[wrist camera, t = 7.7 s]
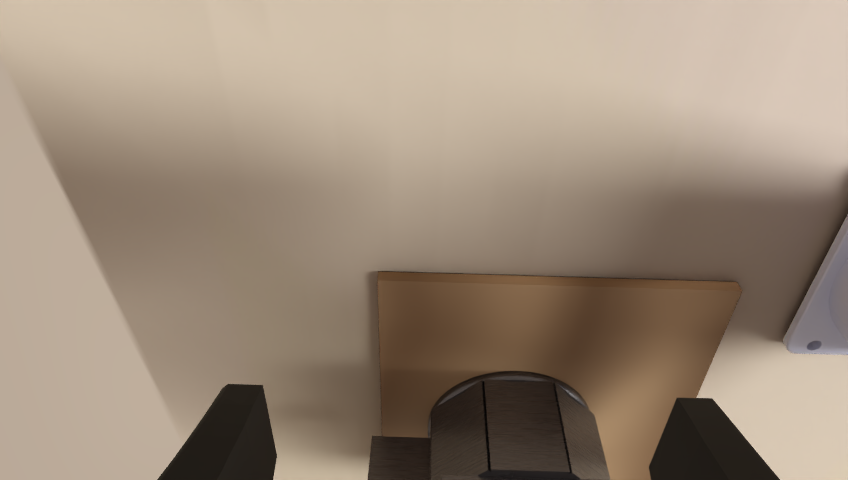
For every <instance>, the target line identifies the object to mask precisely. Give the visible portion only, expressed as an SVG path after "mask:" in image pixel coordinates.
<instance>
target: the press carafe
mask: <svg viewBox="0 0 848 480" xmlns="http://www.w3.org/2000/svg"><path fill="white" fill-rule="evenodd" d="M368 480H610V476H609V472H608V468H607V463H606V459H605V455H604V451H603V447H602V443H601V439H600V435H599V431H598V427H597V423H596V419H595V416H594V414H593V413H592V412H591V411H590V410H589V408H588V405H587V403H586V401H585V400H584V399H583V397H582V396H581V395H580V394H579V393H578V392H577V391H576V390H575V389H574V388H572V387H571V386H569V385H568V384H566V383H564V382H562V381H561V380H558V379H556V378H553V377H551V376H547V375H544V374H540V373H534V372H527V371H501V372H493V373H488V374H483V375H479V376H476V377H473V378H470V379H468V380H465V381H463V382H461V383H459V384H457V385H455V386H454V387H452V388H451V389H449V390H448V391H446V392H445V393H444V394H443V395H442V396H441V397H440V398H439V399H438V400H437V402H436V403H435V404H434V406H433V408H432V409H431V412H430V415H429V419H428V438H419V437H386V436H372V443H371V453H370V463H369V472H368Z"/></svg>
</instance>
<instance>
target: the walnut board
mask: <svg viewBox="0 0 848 480" xmlns="http://www.w3.org/2000/svg"><path fill="white" fill-rule="evenodd" d="M377 283H378V316H379V349H380V382H381V415H382V436H386V437H419V438H428V419H429V415H430V412H431V409H432V408H433V406H434V404H435V403H436V402H437V400H438V399H439V398H440V397H441V396H442V395H443V394H444V393H445V392H446V391H448V390H449V389H451V388H452V387H454V386H455V385H457V384H459V383H461V382H463V381H465V380H468V379H470V378H473V377H476V376H479V375H483V374H488V373H493V372H501V371H527V372H534V373H540V374H544V375H547V376H551V377H553V378H556V379H558V380H561V381H562V382H564V383H566V384H568V385H569V386H571V387H572V388H574V389H575V390H576V391H577V392H578V393H579V394H580V395H581V396H582V397H583V399H584V400H585V401H586V403H587V405H588V408H589V410H590V411H591V412H592V413H593V414H594V416H595V419H596V423H597V427H598V431H599V435H600V439H601V443H602V447H603V451H604V455H605V459H606V463H607V468H608V472H609V476H610V480H651V477H650V471H649V465H650V463H651V460H652V458H653V455H654V453H655V450H656V448H657V445H658V443H659V440H660V438H661V435H662V433H663V431H664V428H665V426H666V423H667V421H668V418H669V416H670V413H671V411H672V408H673V406H674V403H675V401H676V398H696V397H697V395H698V392H699V390H700V388H701V385H702V383H703V381H704V378H705V376H706V374H707V371H708V369H709V367H710V365H711V362H712V360H713V358H714V355H715V353H716V351H717V348H718V346H719V344H720V341H721V339H722V337H723V335H724V332H725V330H726V328H727V325H728V323H729V321H730V318H731V316H732V314H733V311H734V309H735V307H736V305H737V302H738V300H739V298H740V295H741V293H742V290H741V288H740V286H739V285H738V283H737V282H717V281H683V280H649V279H615V278H581V277H546V276H512V275H478V274H444V273H410V272H378V280H377Z"/></svg>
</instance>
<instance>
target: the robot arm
mask: <svg viewBox="0 0 848 480" xmlns="http://www.w3.org/2000/svg"><path fill="white" fill-rule="evenodd" d="M783 343H784V345H785V347H786V349H787V350H788V351H789V352H791V353H799V354H833V355H848V215H847V217H846V218H845V220H844V222H843V224H842V226H841V228H840V230H839V232H838V234H837V236H836V238H835V240H834V242H833V244H832V246H831V247H830V249H829V251H828V253H827V255H826V257H825V259H824V261H823V263H822V265H821V267H820V269H819V271H818V273H817V275H816V276H815V278H814V280H813V282H812V284H811V286H810V288H809V290H808V292H807V294H806V296H805V298H804V300H803V302H802V304H801V305H800V307H799V309H798V311H797V313H796V315H795V317H794V319H793V321H792V323H791V325H790V327H789V329H788V331H787V333H786V335H785V336H784V339H783ZM276 458H277V454H276V449H275V444H274V439H273V434H272V429H271V424H270V419H269V414H268V409H267V404H266V399H265V394H264V389H263V385H240V384H227V385H226V386H225V387H224V388H222V390H221V391H220V393H219V394H218V396H217V397H216V399H215V400H214V402H213V403H212V405H211V406H210V408H209V409H208V411H207V412H206V414H205V415H204V417H203V418H202V420H201V421H200V423H199V424H198V425H197V427H196V428H195V430H194V431H193V432H192V434H191V435H190V437H189V438H188V439H187V441H186V442H185V444H184V445H183V446H182V448H181V449H180V451H179V452H178V453H177V455H176V456H175V458H174V459H173V460H172V461H171V463H170V464H169V465H168V467H167V468H166V469H165V471H164V472H163V473H162V474H161V476H160V477H159V478H158V480H273V476H274V470H275V464H276ZM649 471H650V477H651V480H780V479H779V478H778V477H777V476H776V474H775V473H774V472H773V471H772V470H771V469H770V467H769V466H768V465H767V464H766V463H765V461H764V460H763V459H762V458H761V457H760V455H759V454H758V453H757V452H756V451H755V449H754V448H753V447H752V446H751V445H750V443H749V442H748V441H747V440H746V439H745V437H744V436H743V435H742V434H741V432H740V431H739V430H738V429H737V428H736V426H735V425H734V424H733V423H732V422H731V420H730V419H729V418H728V417H727V416H726V414H725V413H724V412H723V411H722V410H721V408H720V407H719V406H718V405H717V404H716V402H715V401H714V400H713V399H709V398H676V401H675V403H674V406H673V408H672V411H671V413H670V416H669V418H668V421H667V423H666V426H665V428H664V431H663V433H662V435H661V438H660V440H659V443H658V445H657V448H656V450H655V453H654V455H653V458H652V460H651V463H650V465H649Z"/></svg>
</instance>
